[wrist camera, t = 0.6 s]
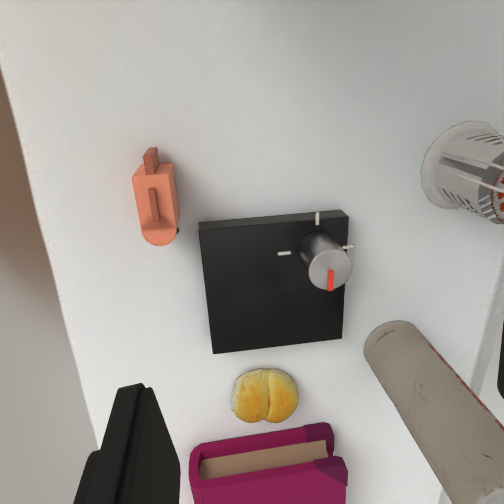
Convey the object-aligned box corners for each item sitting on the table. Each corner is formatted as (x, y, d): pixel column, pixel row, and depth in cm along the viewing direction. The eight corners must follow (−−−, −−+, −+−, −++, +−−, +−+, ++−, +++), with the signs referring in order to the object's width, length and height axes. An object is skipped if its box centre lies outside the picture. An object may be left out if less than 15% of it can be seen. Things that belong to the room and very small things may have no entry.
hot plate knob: (296, 232, 41) (309, 253, 36) (336, 229, 41) (354, 248, 36) (296, 269, 42) (309, 293, 38) (335, 265, 43) (352, 288, 38)
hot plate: (197, 215, 41) (197, 223, 39) (348, 201, 43) (357, 209, 40) (212, 341, 48) (213, 355, 46) (341, 326, 50) (348, 338, 47)
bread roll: (289, 412, 55) (295, 435, 51) (227, 410, 53) (229, 434, 49) (302, 366, 51) (310, 388, 48) (237, 363, 50) (239, 385, 46)
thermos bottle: (413, 311, 50) (634, 547, 25) (424, 354, 53) (629, 602, 28) (356, 334, 50) (516, 590, 25) (371, 376, 54) (525, 639, 28)
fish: (136, 147, 38) (125, 158, 32) (171, 145, 38) (166, 155, 32) (150, 228, 41) (142, 250, 35) (182, 225, 41) (179, 247, 36)
